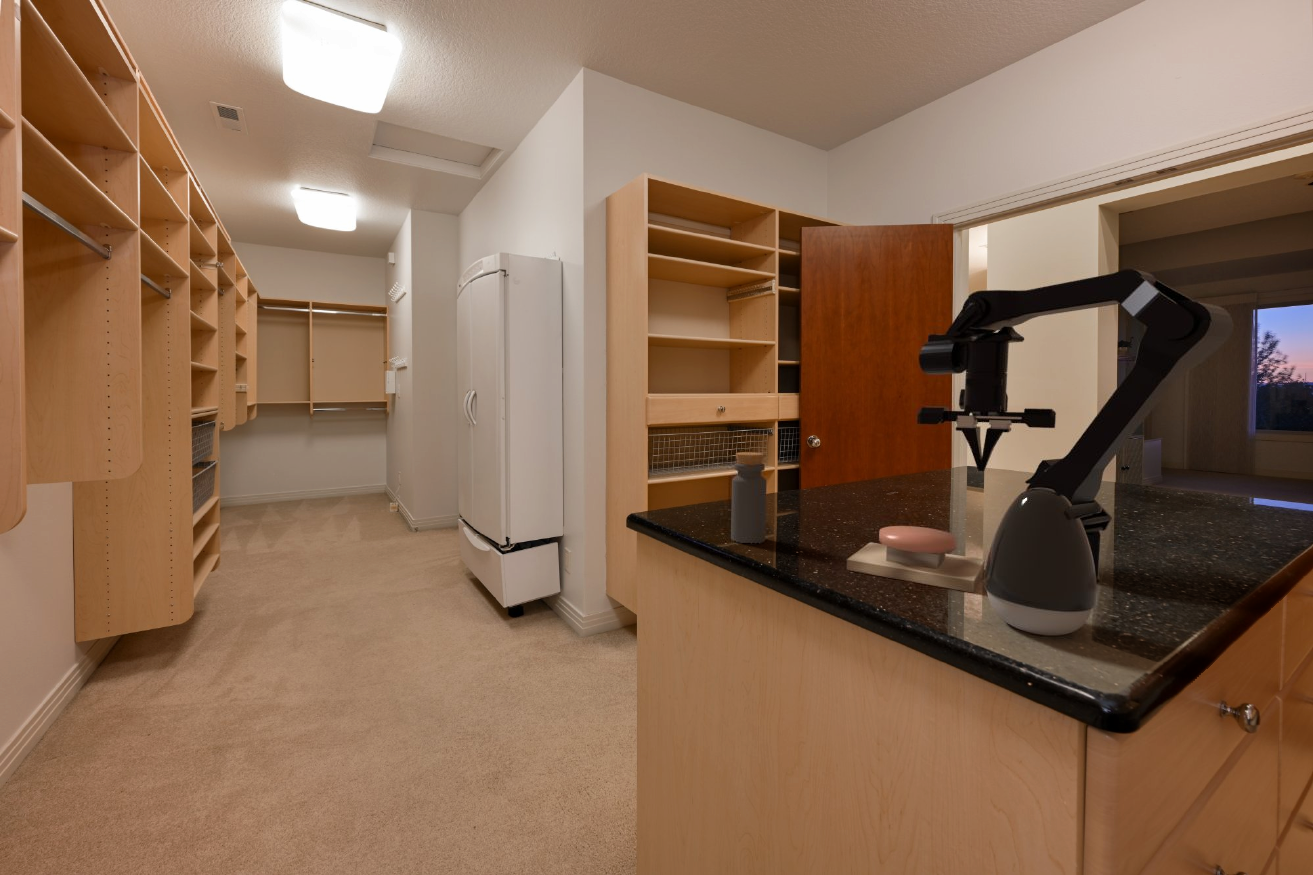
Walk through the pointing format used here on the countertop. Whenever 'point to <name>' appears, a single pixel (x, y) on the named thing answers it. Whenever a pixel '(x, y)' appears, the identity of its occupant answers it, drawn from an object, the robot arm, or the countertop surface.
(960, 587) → the button base
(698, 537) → the countertop surface
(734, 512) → the bottle
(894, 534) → the button
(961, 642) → the countertop surface
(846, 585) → the countertop surface
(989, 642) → the countertop surface
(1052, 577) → the pump dispenser
